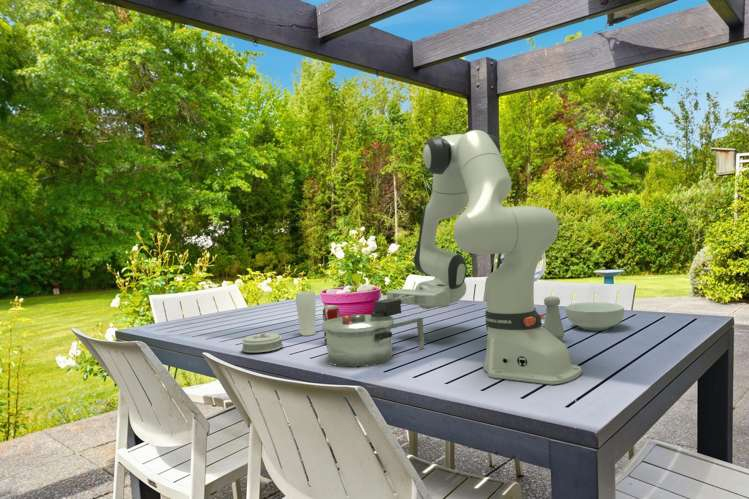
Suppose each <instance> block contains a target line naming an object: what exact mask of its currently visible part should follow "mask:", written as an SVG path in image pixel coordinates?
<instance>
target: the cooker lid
mask: <svg viewBox="0 0 749 499" xmlns="http://www.w3.org/2000/svg"><path fill="white" fill-rule="evenodd" d="M373 305H374V306H373V307H374V308H373V309H374V312H371V313H370V314H365V313H364V314H363V313H356V314H354V313H353V314H350V315H349V314H348V315H342V316H339V317H338V318H333V319H329V320H326V321H324V322H322V323H321V329H322V330H323V331H324V330H325V331H328V332H336V333H356V332H367V331H374V330H380V329H384V328H387V327H390V326H392V325H393V324H395V320H394V317H393V316H394V315H395V316H396V315H398V314H402V304H401V301H400V300H398V299H387V298H386V299H385V298H384V299H379V300H374V301H373Z"/></svg>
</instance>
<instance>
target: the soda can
mask: <svg viewBox="0 0 749 499" xmlns="http://www.w3.org/2000/svg"><path fill="white" fill-rule="evenodd" d="M338 307H339V306H338V305H336V304H335V305H325V306H323V310H322V318H323V322H324V321H326V320H329V319H333V318H338V317H340V309H339V308H338ZM323 322H322V323H323ZM323 333H324V336H323V337H324V343H325V345H327V338H326V331H325V330H323Z"/></svg>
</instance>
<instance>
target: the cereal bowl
mask: <svg viewBox="0 0 749 499" xmlns="http://www.w3.org/2000/svg"><path fill="white" fill-rule="evenodd" d="M565 313H566V317H567V319H568V320H569V322H570V323H571V324H573V325H575V326H578V327H580V328H582V329H583V330H585V331H594V332H595V331H596V332H597V331H598V332H600V331H606V330H609V328H612V327H615V326H617V325H619V324H620V322H621V321H622V320H623V319H624V318H623V317H624V314H625V307H624V306H623V305H621V304H618V303H612V302H603V301H601V302H600V301H588V302H587V301H586V302H585V301H583V302H576V303H572V304H567V305H566V306H565Z"/></svg>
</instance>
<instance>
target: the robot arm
mask: <svg viewBox="0 0 749 499" xmlns="http://www.w3.org/2000/svg"><path fill="white" fill-rule="evenodd" d="M422 160H423V164H424V167H425V169H426V170H427V171H428V172H429V173H431V174H433V177H432V188H431V189H432V190H431V192H432V193H431V197H430V199H429V201H426V203H425V205H424V207H423V209H422V215H421V220H420V227H419V233H418V241H417V246H416V249H415V252H414V256H413V263H414V266H415V269H416V270H417V272H418V273H422V274H425V275H427V276H428V275H429V276H432V277H434V278H433V279H431V280H424V281H420V282H419V283H417V284H416V286H415V288H414V289H410V288H408V289H407V288H401V289H395V290H389V291H387V293H386V294H387V295H386V296H387V298H386V299H398V300H400V301H401V305H415V306H419V307H420V308H421V309H422V310H430V309H431V310H432V309H435V308H448V307H450V305H452V304H453V303H457V302H458V301H460V300H461V299H463V297H464V296H465V295H466V293H467V283H466V281H465V280H466V277H467V270H468V269H467V262H466V260H465V258H464V256H463V255H462V254H460V253H456V252H453V251H451V250H447V249H443V248H441V247H438V246H437V244H436V238H437V231H438V225H439V222H440V221H441V220H444V219H448V218H452V217H456V216H458V215H459V216H458V217H457V219H456V221H455V222H454V225H453V238H454V241H455V243H456V245H457V247H458V248H459V249H460V250H461V251H462V252H464V253H466V254H473V255H480V256H481V255H482V256H484V255H495V254H497V255H498V254H504V256H503V260H502V262H501V264H500V266H498V267H497V268H496V269H494V270H493V271H492V272H491V273H489V274H488V276H487V278H486V279H485V280H486V281H485V295H486V296H485V298H486V310H485V314H484V315H485V316H484V317H485V327H486V331H487V337H486V338H487V340H486V350H485V358H484V363H483V367H482V368H483V370H484V371H485V372H486V373H487V374H488V377H489V378H493V379H495V378H496V379H501V380H502V379H504V380H511V381H520V382H528V383H535V384H543V385H558V384H559V385H560V384H564V383H567V382H571V381H573V380H574V379H577V378H578V377H579V376H581V375H582V373H583V371H582V368H581V366H580V365H576V364H572V361H571V360H572V359H571V357H570V356H571V355H570V351H569V348H568V346H567V345H566V344H565V343H564V342H563V341H562V342H561V341H560V340H559V339H557V338H556V337H555V336H554V335H552V334H551V333H550V332H549V331H548V330H546V329H545V328H544V325H543V323H542V320H545V317H544V316H546V313H542V314H539V313H538V311H537V310H536V308H535V302H534V300H535V298H534V293H535V292H534V290H535V289H534V285H535V282H534V281H535V274H536V270H537V267H538V265H539V262H540V260H541V259H542V256H543V255H544V253H545V252H546V251H547V249H549V248H550V247H551V245H553V244H554V242H555V241H556V239H557V236H558V233H559V223H558V219H557V217H556V215H555V214H554V213H553V212H552V211H551V210H550V209H549V208H547V207H546V208H545V207H540V206H536V205H535V206H534V205H521V206H520V205H519V206H503V205H502V203H501V202H503V200H505V199H506V198H507V197H508V196H509V194H510V192H511V190H512V183H513V182H512V179H511V175H510V174H509V171H508V169H507V167H506V164H505V162H504V159H503V157H502V155H501V145H500V142H499V140H498V139H497V137H496V136H495V135H493V134H488V133H487V132H485V131H483V130H479V129H474V130H473V129H472V130H469V131H467V132H465V133H457V134H456V133H454V134H449V135H444V136H440V135H438V136H434V137H430V139H427V141H426V142H425V144H424V145H423V152H422Z"/></svg>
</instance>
